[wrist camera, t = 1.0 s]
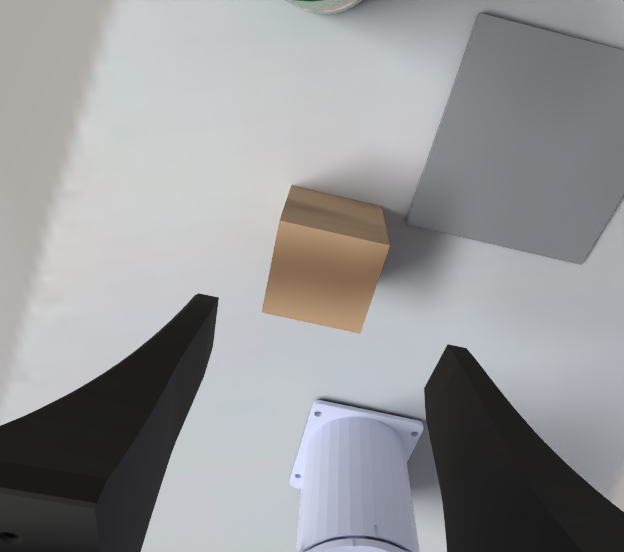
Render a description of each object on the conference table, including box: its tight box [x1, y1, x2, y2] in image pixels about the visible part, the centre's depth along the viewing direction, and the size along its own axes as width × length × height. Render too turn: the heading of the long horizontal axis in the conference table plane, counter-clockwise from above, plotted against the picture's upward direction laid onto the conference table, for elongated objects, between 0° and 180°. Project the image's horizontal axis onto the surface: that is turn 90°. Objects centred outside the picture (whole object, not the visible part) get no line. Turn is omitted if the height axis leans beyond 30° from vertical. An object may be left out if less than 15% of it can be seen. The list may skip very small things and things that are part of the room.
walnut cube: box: [262, 186, 390, 333], centre depth 23 cm, size 5×5×5 cm
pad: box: [406, 13, 624, 265], centre depth 22 cm, size 10×10×1 cm
